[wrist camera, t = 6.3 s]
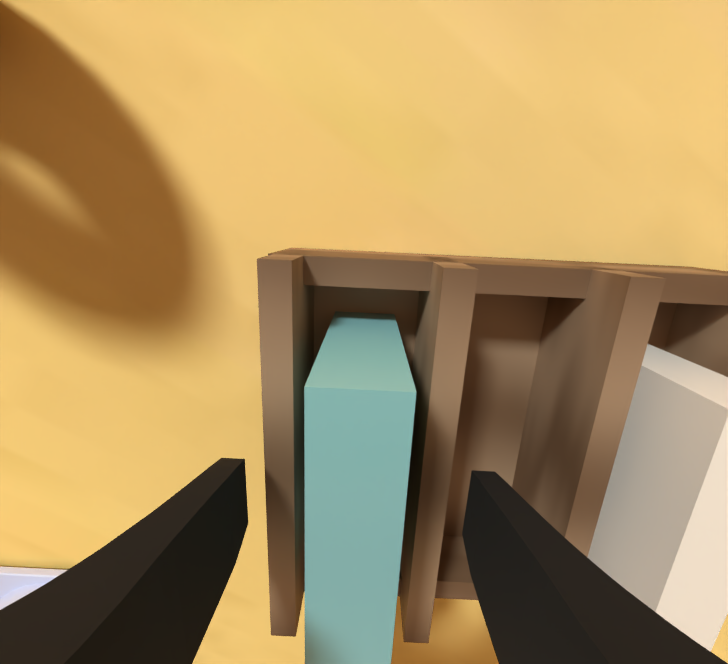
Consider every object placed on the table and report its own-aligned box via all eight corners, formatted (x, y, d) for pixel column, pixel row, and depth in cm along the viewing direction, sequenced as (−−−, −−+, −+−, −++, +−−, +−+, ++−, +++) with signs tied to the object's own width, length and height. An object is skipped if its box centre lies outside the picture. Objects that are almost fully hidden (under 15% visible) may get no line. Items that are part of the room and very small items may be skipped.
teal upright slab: (380, 508, 14) (388, 695, 9) (331, 505, 14) (305, 691, 9) (394, 313, 12) (416, 392, 6) (335, 311, 12) (304, 386, 6)
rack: (609, 540, 16) (699, 656, 12) (294, 524, 16) (266, 635, 12) (690, 266, 13) (859, 287, 8) (291, 247, 13) (250, 258, 8)
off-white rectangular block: (595, 508, 14) (710, 652, 9) (550, 506, 14) (641, 648, 9) (641, 341, 12) (817, 414, 7) (589, 338, 12) (730, 409, 7)
